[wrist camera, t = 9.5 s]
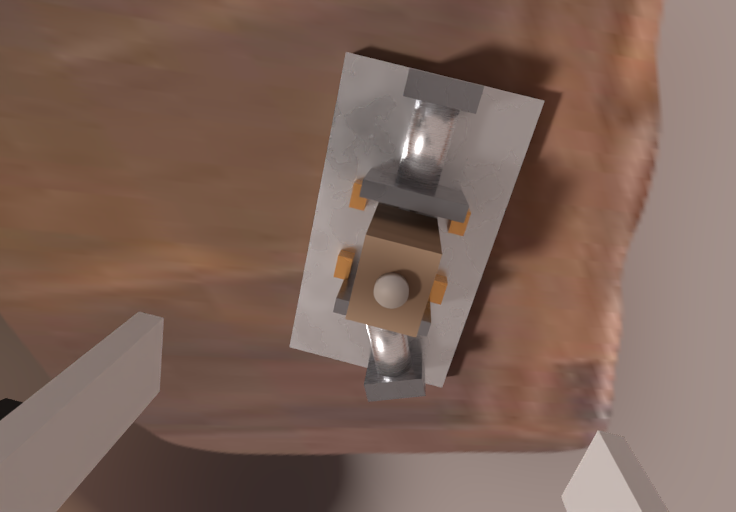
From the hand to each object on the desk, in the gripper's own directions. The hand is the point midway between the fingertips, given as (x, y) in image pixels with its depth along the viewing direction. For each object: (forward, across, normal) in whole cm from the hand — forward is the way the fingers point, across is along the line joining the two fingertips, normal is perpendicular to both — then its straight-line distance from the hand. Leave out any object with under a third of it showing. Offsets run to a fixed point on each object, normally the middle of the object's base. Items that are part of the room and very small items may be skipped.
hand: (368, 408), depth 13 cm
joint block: (+17, 0, -1) cm, 17 cm away
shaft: (+17, +2, -8) cm, 19 cm away
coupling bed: (+18, 0, 0) cm, 18 cm away
